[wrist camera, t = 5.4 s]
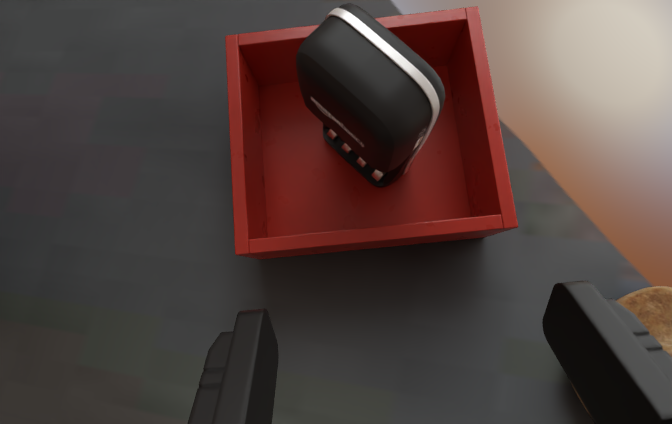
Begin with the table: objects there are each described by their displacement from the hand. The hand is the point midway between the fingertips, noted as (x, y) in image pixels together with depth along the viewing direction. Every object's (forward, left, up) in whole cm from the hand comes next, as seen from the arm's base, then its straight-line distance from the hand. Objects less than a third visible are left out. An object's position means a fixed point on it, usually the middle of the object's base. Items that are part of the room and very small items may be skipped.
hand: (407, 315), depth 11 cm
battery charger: (0, +10, -15) cm, 18 cm away
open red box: (0, +10, -15) cm, 18 cm away
